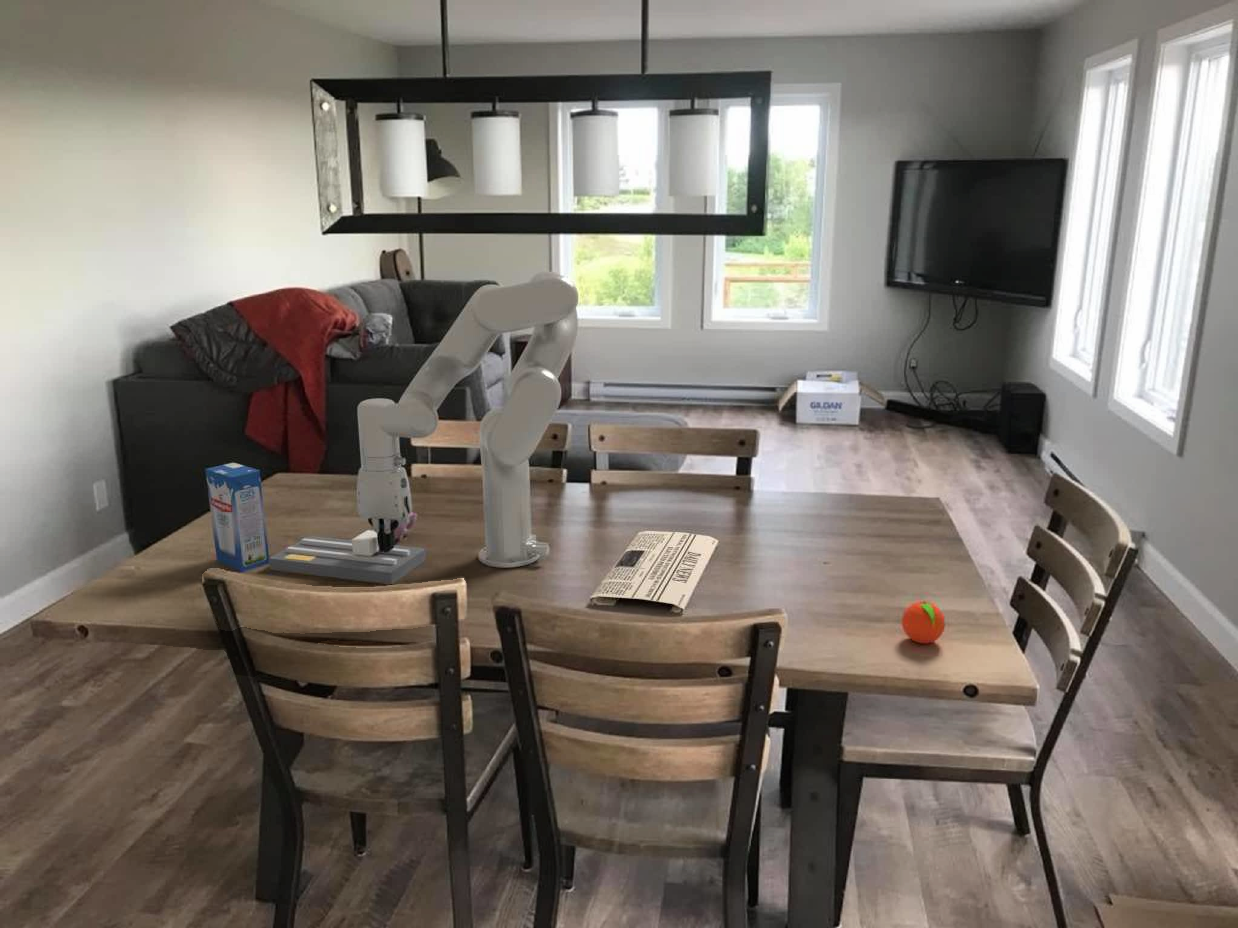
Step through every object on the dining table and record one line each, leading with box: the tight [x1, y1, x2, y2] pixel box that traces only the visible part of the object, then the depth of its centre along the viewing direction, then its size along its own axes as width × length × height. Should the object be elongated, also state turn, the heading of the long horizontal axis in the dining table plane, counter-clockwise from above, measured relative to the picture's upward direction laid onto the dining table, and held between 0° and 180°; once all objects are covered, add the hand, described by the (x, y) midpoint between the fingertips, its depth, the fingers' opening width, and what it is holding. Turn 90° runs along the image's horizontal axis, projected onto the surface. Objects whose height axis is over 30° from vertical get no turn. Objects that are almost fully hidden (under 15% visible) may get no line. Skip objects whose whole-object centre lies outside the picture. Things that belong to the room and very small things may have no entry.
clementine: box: [901, 601, 946, 644], centre depth 165 cm, size 8×7×7 cm
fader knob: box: [351, 529, 379, 556], centre depth 200 cm, size 4×6×4 cm, turn 162°
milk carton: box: [204, 462, 270, 573], centre depth 202 cm, size 10×6×20 cm, turn 50°
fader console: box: [268, 535, 427, 585], centre depth 203 cm, size 28×14×3 cm, turn 72°
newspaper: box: [589, 530, 719, 615], centre depth 197 cm, size 37×19×3 cm, turn 165°
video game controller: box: [394, 511, 419, 542], centre depth 218 cm, size 10×5×7 cm, turn 169°
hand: (386, 549), depth 199 cm, fingers closed
